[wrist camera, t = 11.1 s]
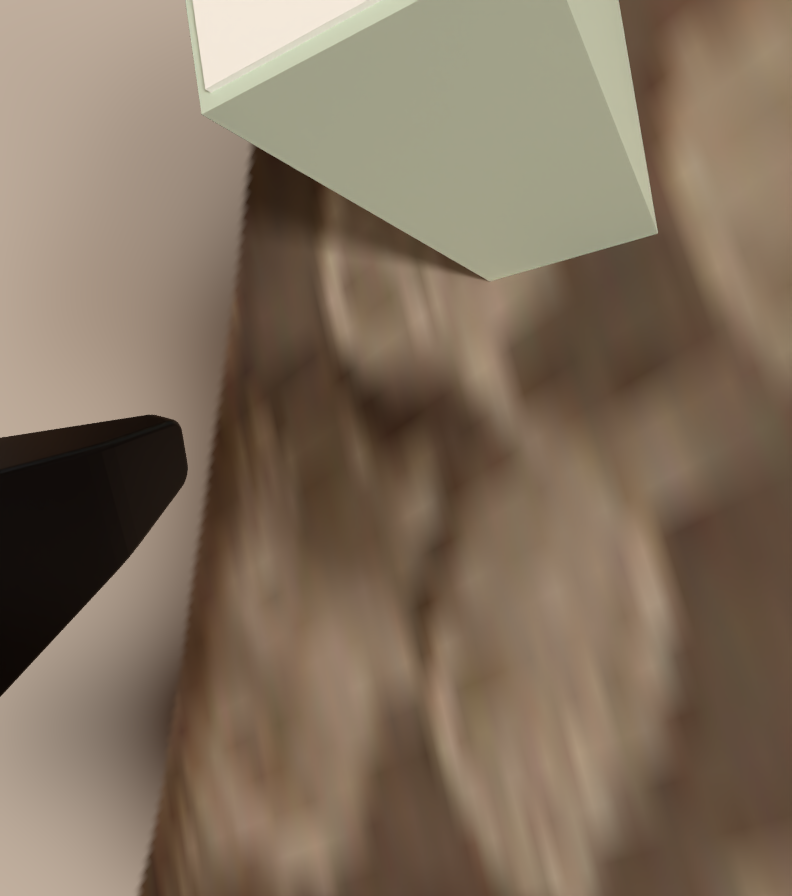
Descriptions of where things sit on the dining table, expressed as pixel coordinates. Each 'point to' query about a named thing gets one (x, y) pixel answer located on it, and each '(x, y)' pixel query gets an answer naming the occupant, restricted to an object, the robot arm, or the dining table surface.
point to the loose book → (442, 116)
